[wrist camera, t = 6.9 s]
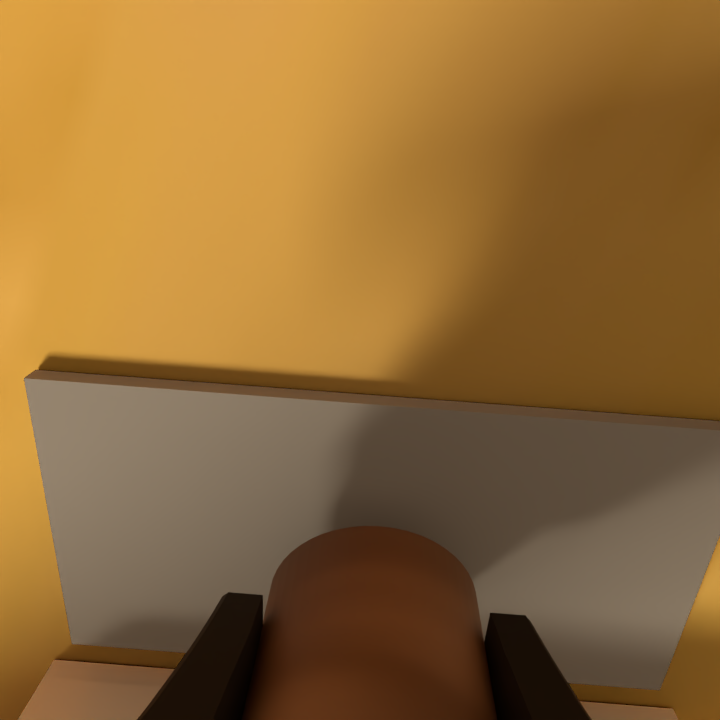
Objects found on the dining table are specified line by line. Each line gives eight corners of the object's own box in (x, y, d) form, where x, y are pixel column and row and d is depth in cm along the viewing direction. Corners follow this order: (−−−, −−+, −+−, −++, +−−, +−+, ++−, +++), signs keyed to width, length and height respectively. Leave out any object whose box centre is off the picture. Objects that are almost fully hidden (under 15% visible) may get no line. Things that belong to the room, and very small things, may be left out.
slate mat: (79, 630, 14) (72, 644, 14) (35, 370, 11) (24, 378, 11) (652, 675, 14) (659, 690, 14) (746, 422, 11) (759, 433, 11)
